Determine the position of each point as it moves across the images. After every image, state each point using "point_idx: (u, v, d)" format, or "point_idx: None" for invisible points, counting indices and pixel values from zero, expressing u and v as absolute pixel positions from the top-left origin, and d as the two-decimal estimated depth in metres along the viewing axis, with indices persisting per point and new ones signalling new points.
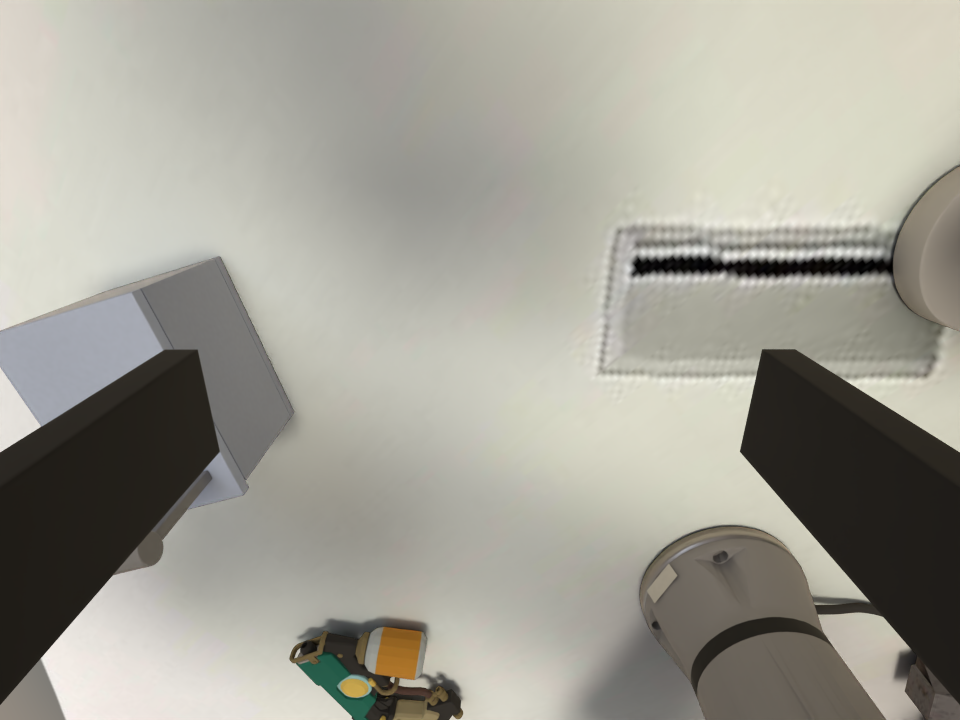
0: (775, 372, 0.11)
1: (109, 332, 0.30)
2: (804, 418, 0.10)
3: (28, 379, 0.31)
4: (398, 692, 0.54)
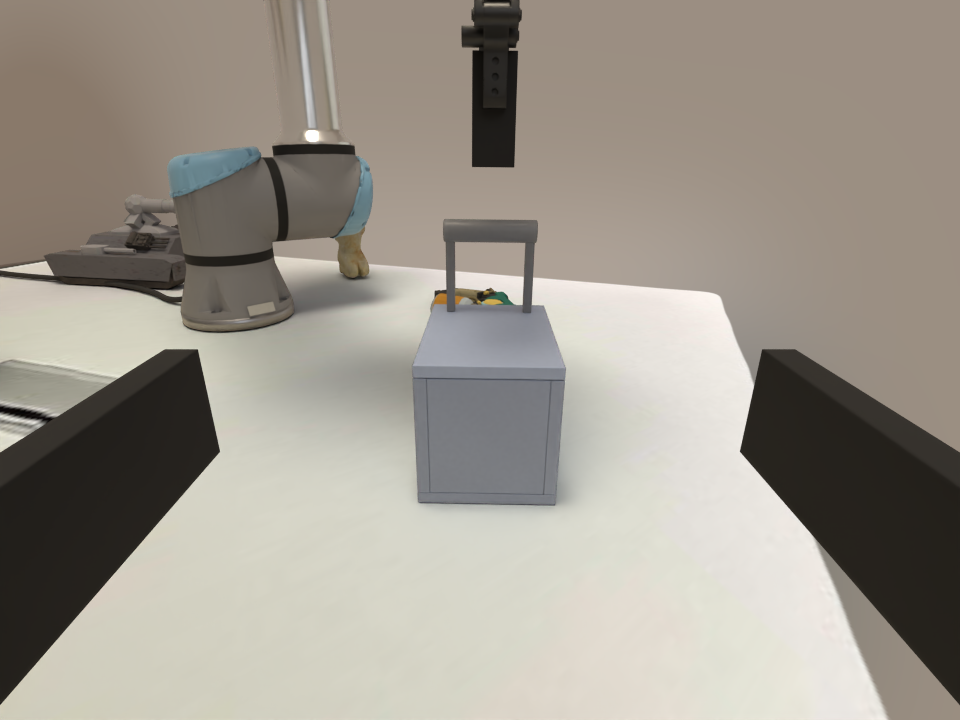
0: (775, 372, 0.11)
1: (451, 355, 0.35)
2: (804, 418, 0.10)
3: (542, 350, 0.36)
4: None
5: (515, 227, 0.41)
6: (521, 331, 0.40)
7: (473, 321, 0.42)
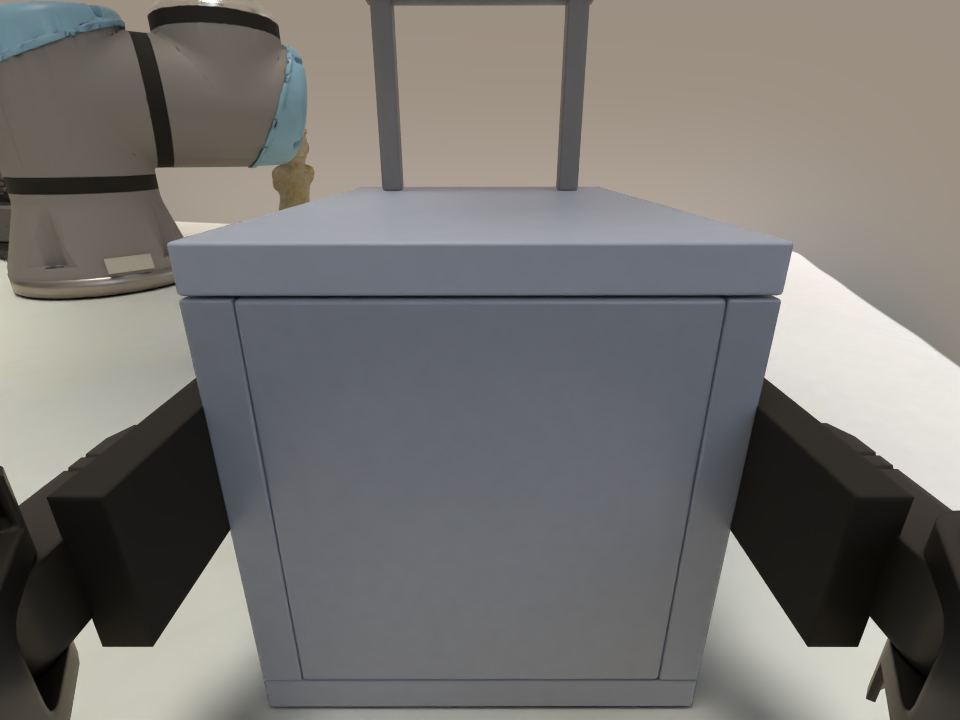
0: None
1: (347, 226, 0.10)
2: None
3: (657, 218, 0.11)
4: None
5: None
6: (568, 202, 0.15)
7: (442, 196, 0.17)
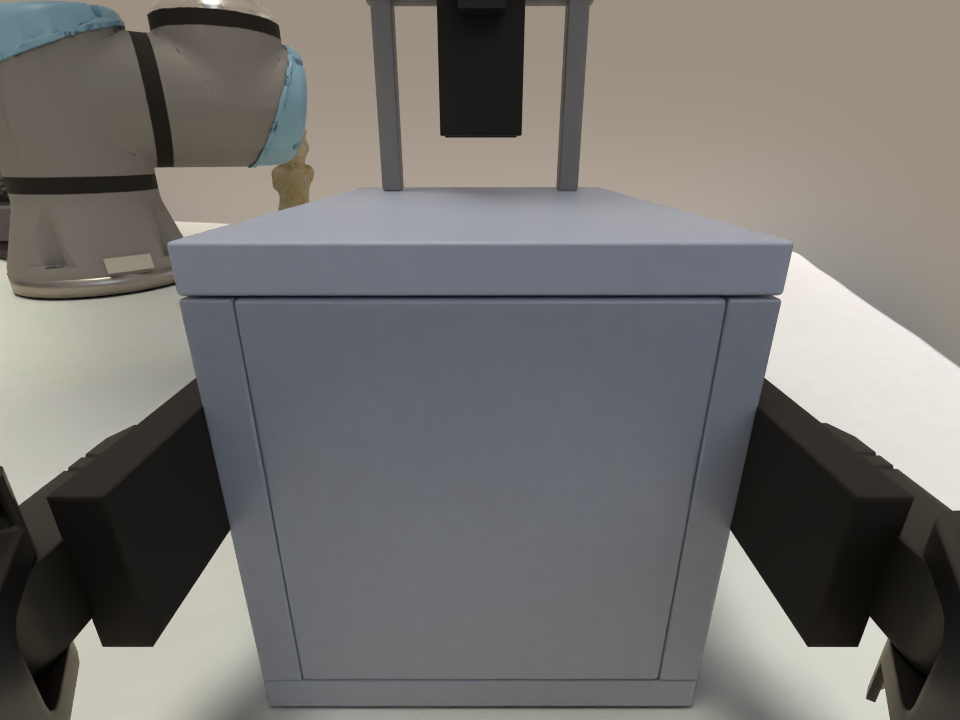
0: None
1: (347, 226, 0.10)
2: None
3: (657, 218, 0.11)
4: None
5: None
6: (568, 202, 0.15)
7: (442, 196, 0.17)
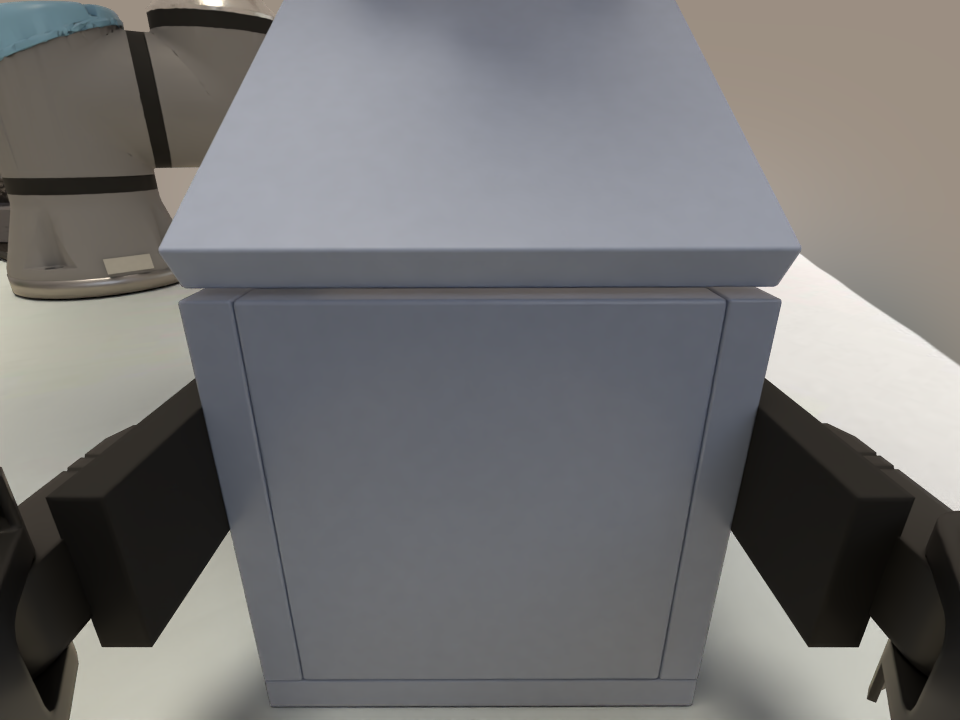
0: None
1: (334, 177, 0.09)
2: None
3: (682, 133, 0.10)
4: None
5: None
6: (588, 34, 0.12)
7: None
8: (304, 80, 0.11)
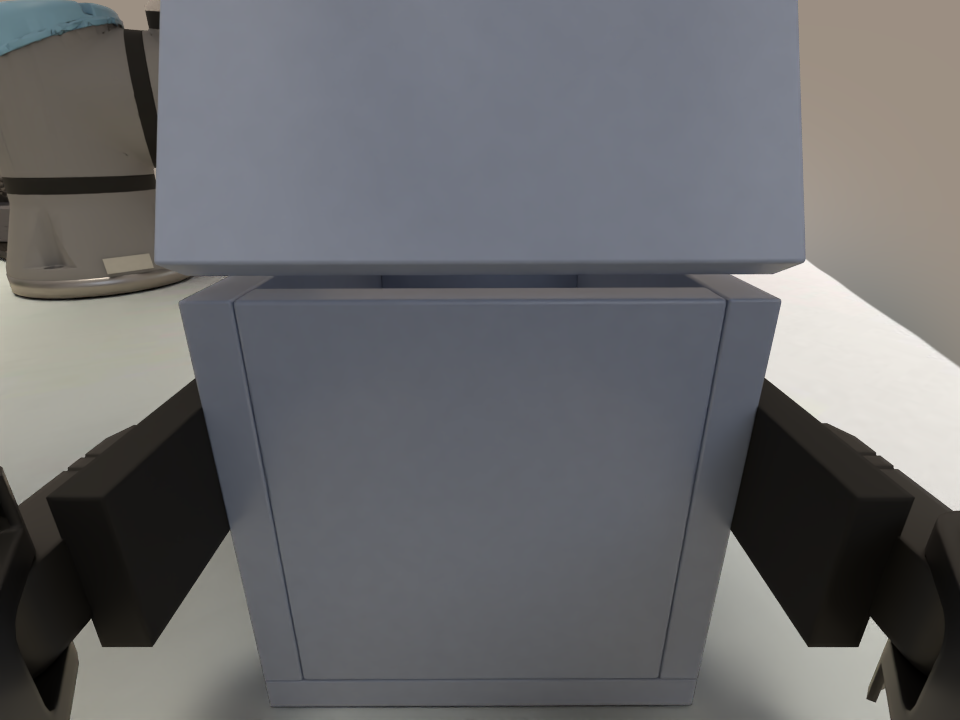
0: None
1: (315, 148, 0.08)
2: None
3: (725, 64, 0.08)
4: None
5: None
6: None
7: None
8: None
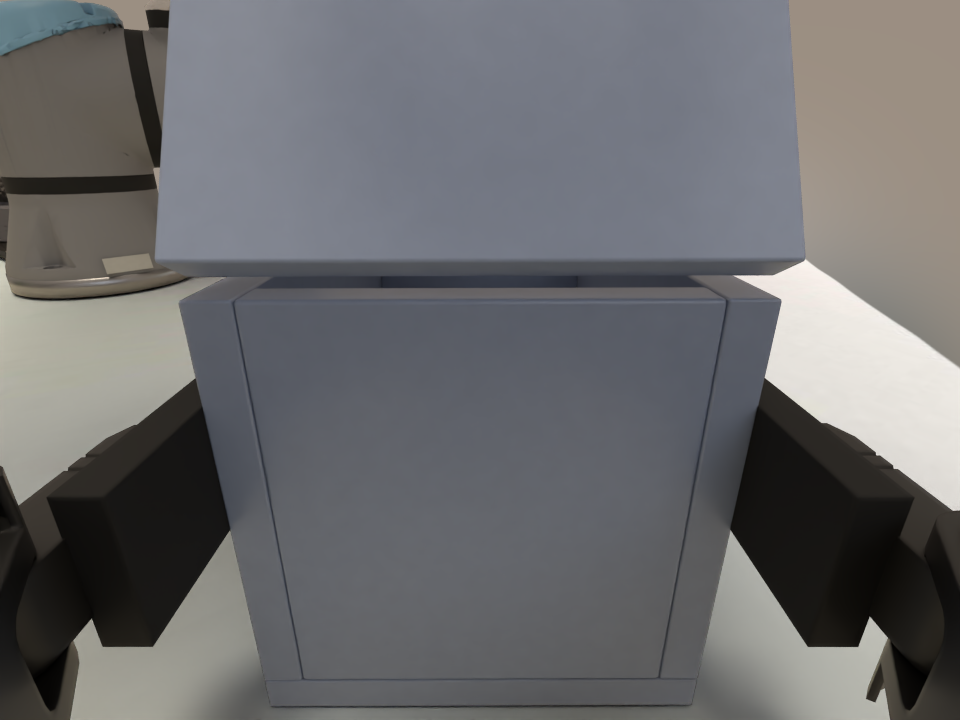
0: None
1: (317, 149, 0.08)
2: None
3: (720, 69, 0.08)
4: None
5: None
6: None
7: None
8: None
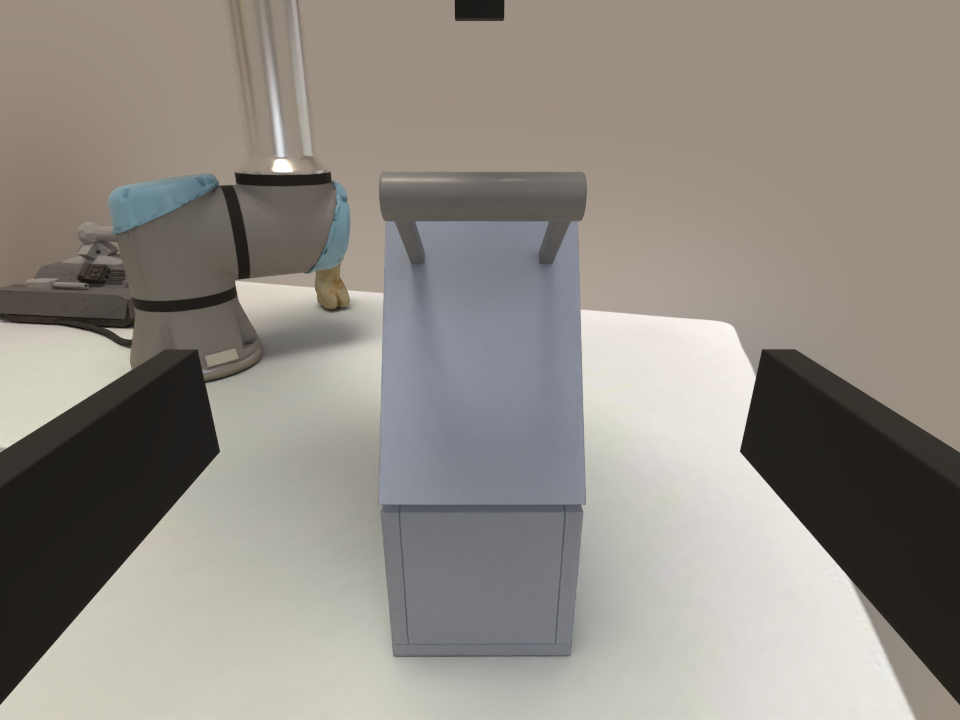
0: (775, 372, 0.11)
1: (430, 466, 0.25)
2: (803, 418, 0.10)
3: (559, 439, 0.25)
4: None
5: (536, 212, 0.19)
6: (532, 357, 0.25)
7: (457, 314, 0.26)
8: (407, 399, 0.25)
